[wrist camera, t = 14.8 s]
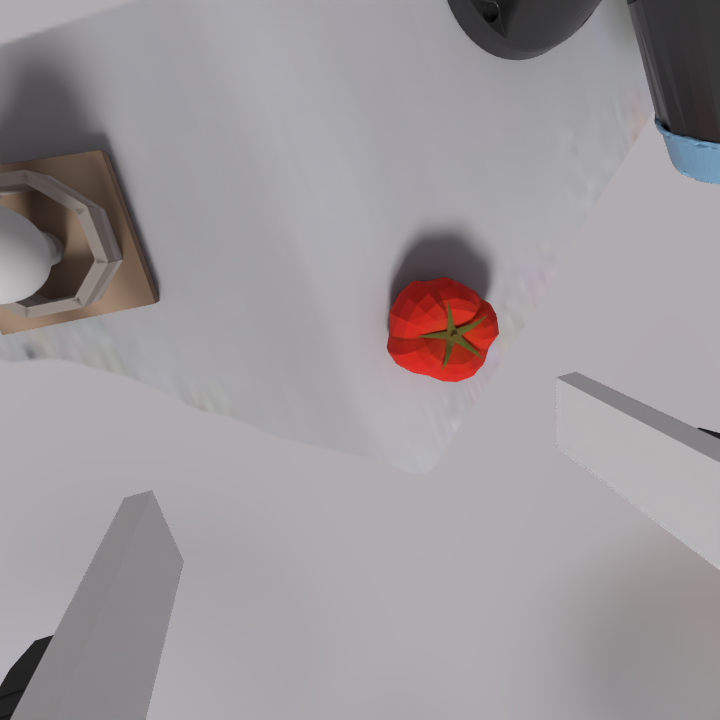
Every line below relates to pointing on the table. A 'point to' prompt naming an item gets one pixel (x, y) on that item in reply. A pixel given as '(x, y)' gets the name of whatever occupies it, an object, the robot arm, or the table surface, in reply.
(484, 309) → the tomato
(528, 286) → the table surface
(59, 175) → the bulb socket
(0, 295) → the lightbulb
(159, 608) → the robot arm
